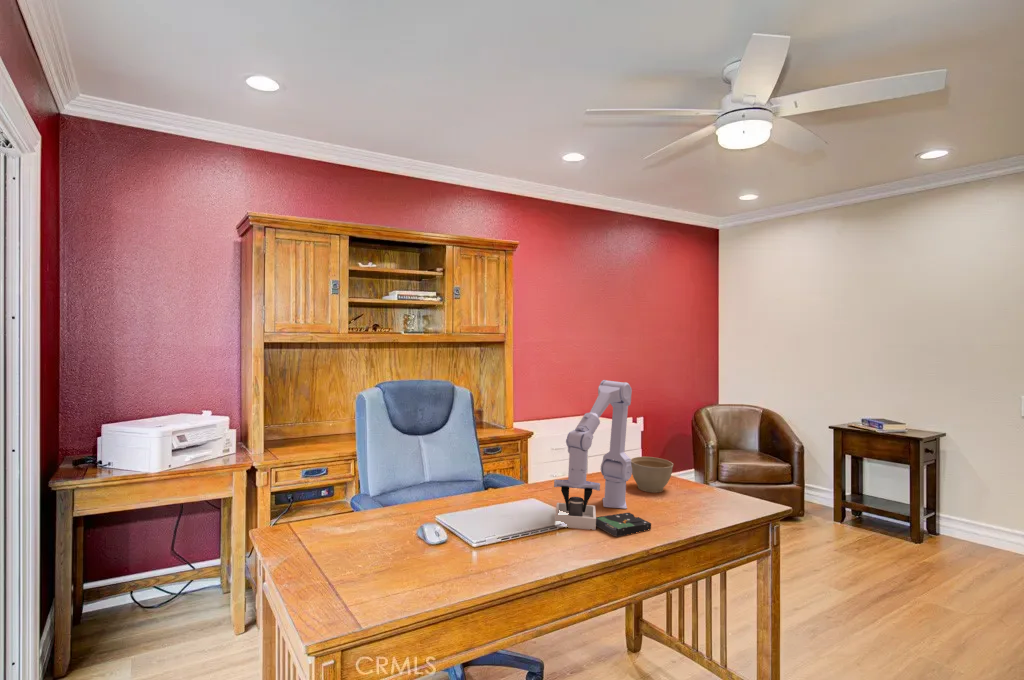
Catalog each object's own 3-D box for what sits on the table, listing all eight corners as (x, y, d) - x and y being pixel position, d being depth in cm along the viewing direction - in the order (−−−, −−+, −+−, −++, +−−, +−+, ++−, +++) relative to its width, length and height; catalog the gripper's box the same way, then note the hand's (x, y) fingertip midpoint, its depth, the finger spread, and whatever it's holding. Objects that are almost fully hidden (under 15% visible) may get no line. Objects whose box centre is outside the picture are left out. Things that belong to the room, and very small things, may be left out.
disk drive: (627, 520, 184) (593, 525, 176) (628, 512, 184) (594, 516, 176) (651, 532, 175) (616, 537, 167) (652, 523, 175) (617, 528, 167)
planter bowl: (621, 488, 218) (623, 461, 218) (641, 481, 230) (642, 454, 230) (660, 498, 208) (661, 469, 207) (678, 489, 220) (680, 462, 220)
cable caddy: (556, 512, 187) (556, 502, 187) (594, 516, 185) (595, 505, 185) (554, 526, 174) (555, 515, 174) (595, 530, 173) (596, 518, 173)
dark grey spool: (568, 514, 182) (569, 496, 182) (582, 515, 182) (583, 497, 182) (567, 519, 178) (568, 500, 178) (582, 520, 177) (583, 501, 177)
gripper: (554, 469, 176) (552, 512, 177) (601, 473, 175) (599, 516, 175) (555, 464, 183) (553, 505, 184) (600, 467, 182) (598, 509, 182)
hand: (575, 510), depth 180 cm, fingers closed on dark grey spool, 4 cm apart
